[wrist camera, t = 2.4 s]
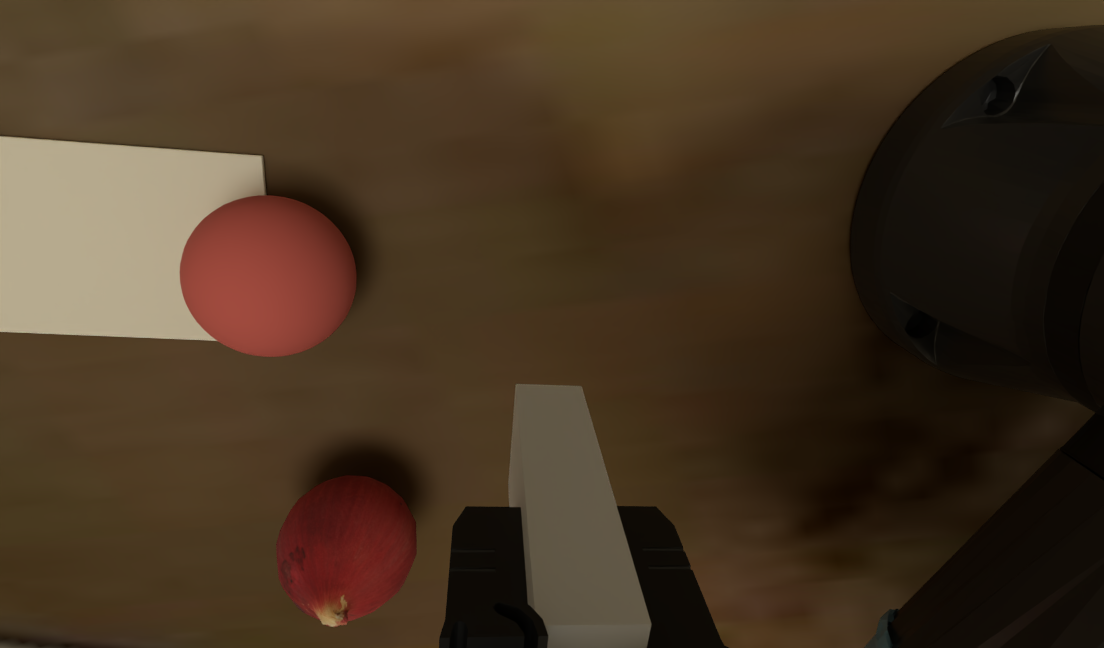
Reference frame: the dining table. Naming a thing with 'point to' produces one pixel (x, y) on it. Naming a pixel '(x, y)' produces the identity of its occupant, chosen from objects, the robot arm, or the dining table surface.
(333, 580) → the onion
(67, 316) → the cream flat rectangular slab
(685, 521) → the dining table surface
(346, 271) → the ball
